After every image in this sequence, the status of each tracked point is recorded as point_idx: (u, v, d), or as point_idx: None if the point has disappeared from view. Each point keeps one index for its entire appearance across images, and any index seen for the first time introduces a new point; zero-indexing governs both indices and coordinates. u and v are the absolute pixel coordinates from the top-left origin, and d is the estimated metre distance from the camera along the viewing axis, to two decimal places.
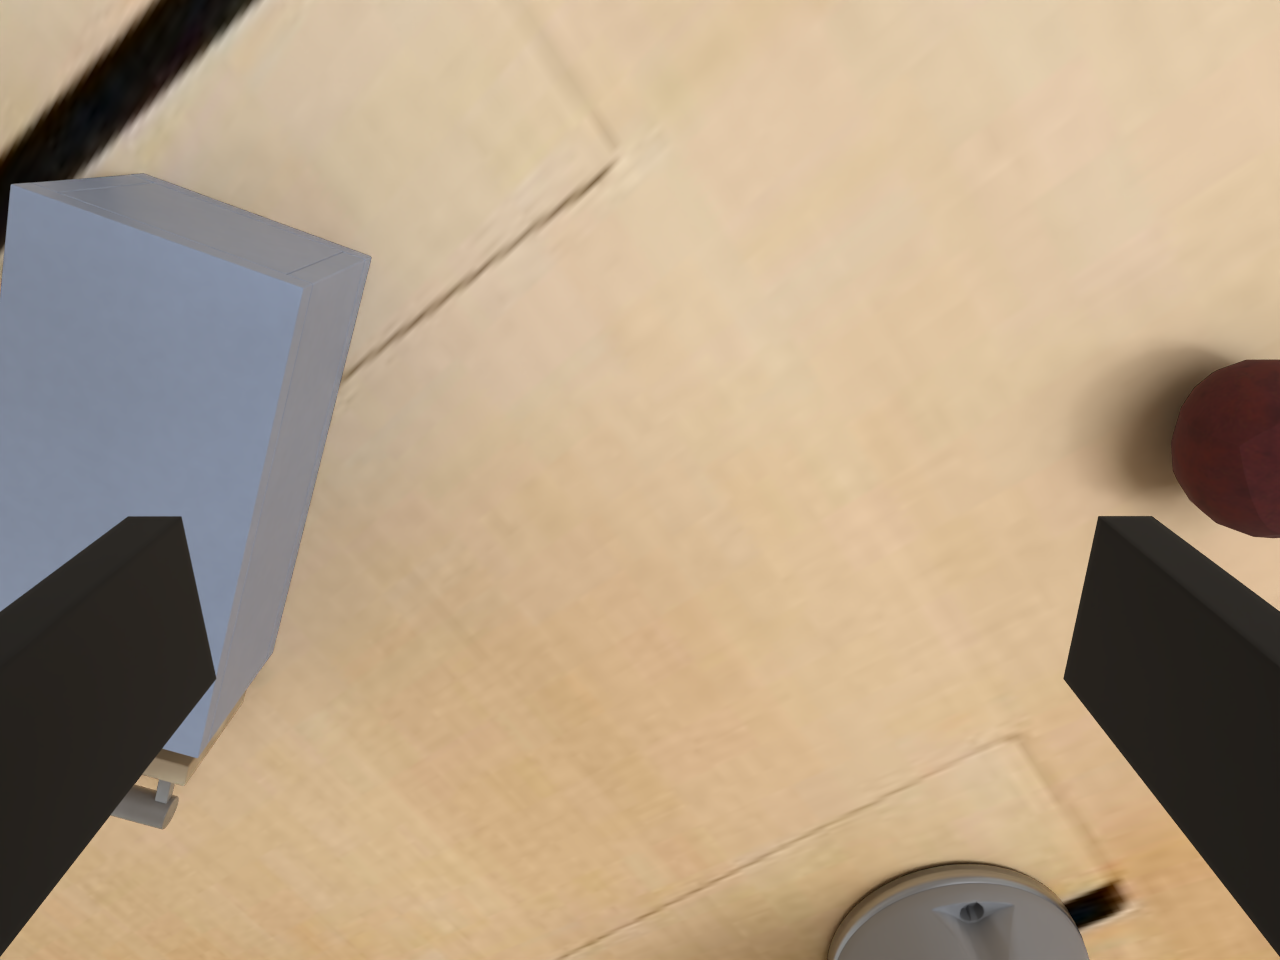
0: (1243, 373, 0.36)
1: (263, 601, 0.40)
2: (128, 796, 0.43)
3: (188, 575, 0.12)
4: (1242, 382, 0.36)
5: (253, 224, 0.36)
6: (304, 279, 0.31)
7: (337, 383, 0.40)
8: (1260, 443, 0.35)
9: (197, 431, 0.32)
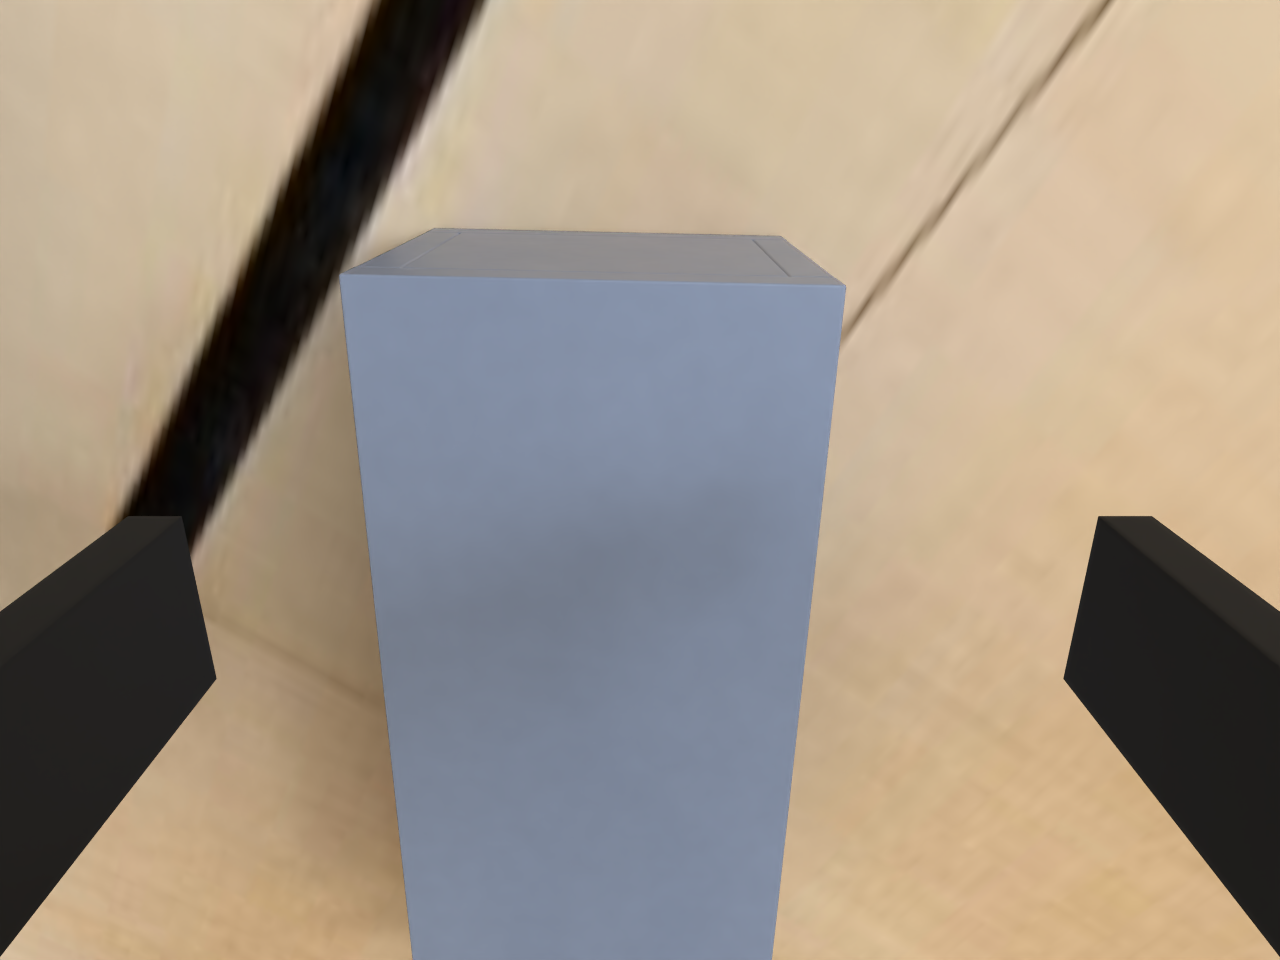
0: None
1: None
2: None
3: (188, 575, 0.12)
4: None
5: (626, 240, 0.23)
6: (817, 275, 0.18)
7: None
8: None
9: (699, 579, 0.19)
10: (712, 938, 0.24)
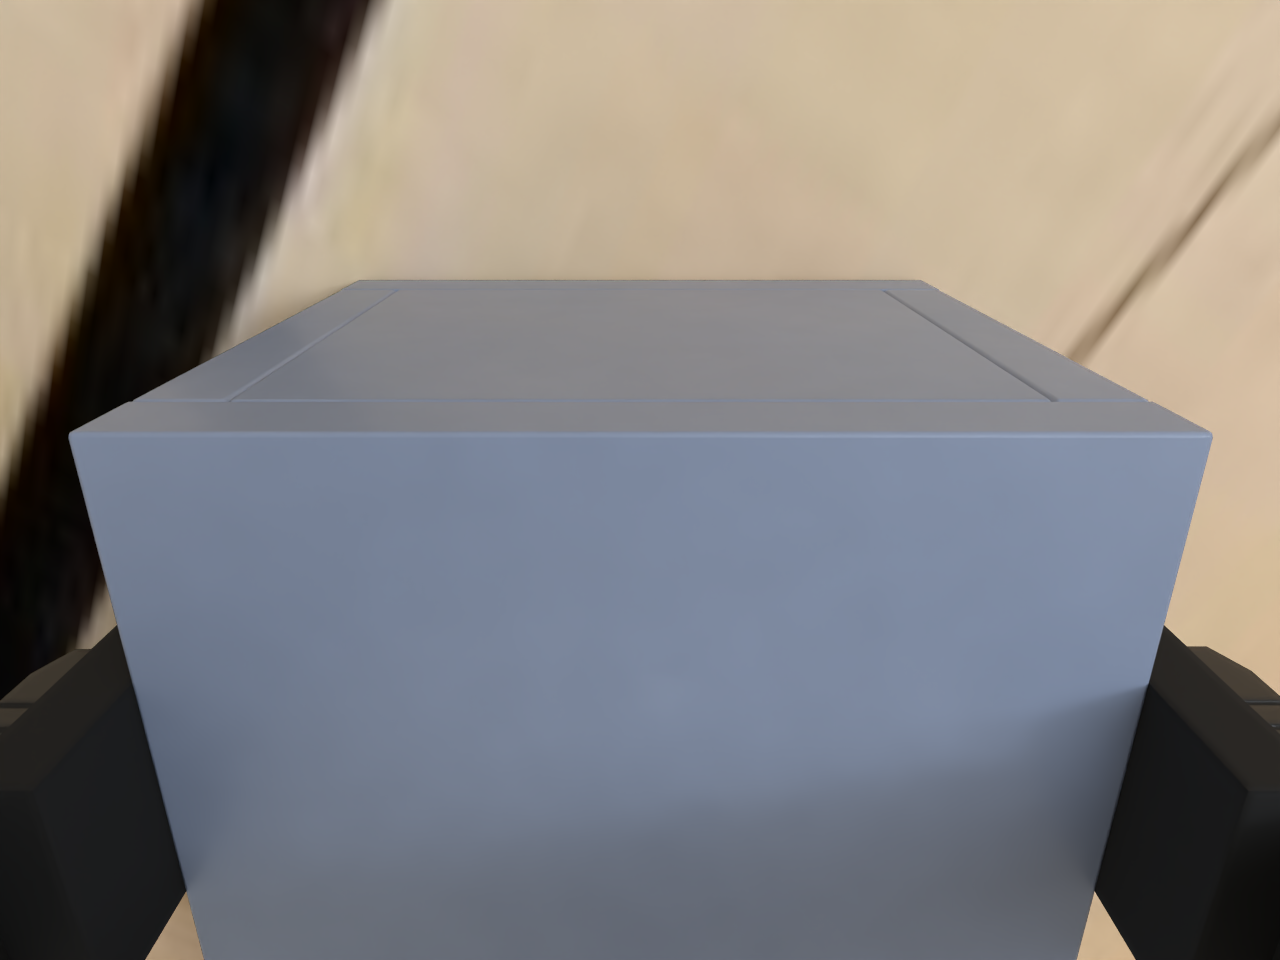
0: None
1: None
2: None
3: None
4: None
5: (676, 299, 0.13)
6: (1107, 393, 0.09)
7: None
8: None
9: None
10: None
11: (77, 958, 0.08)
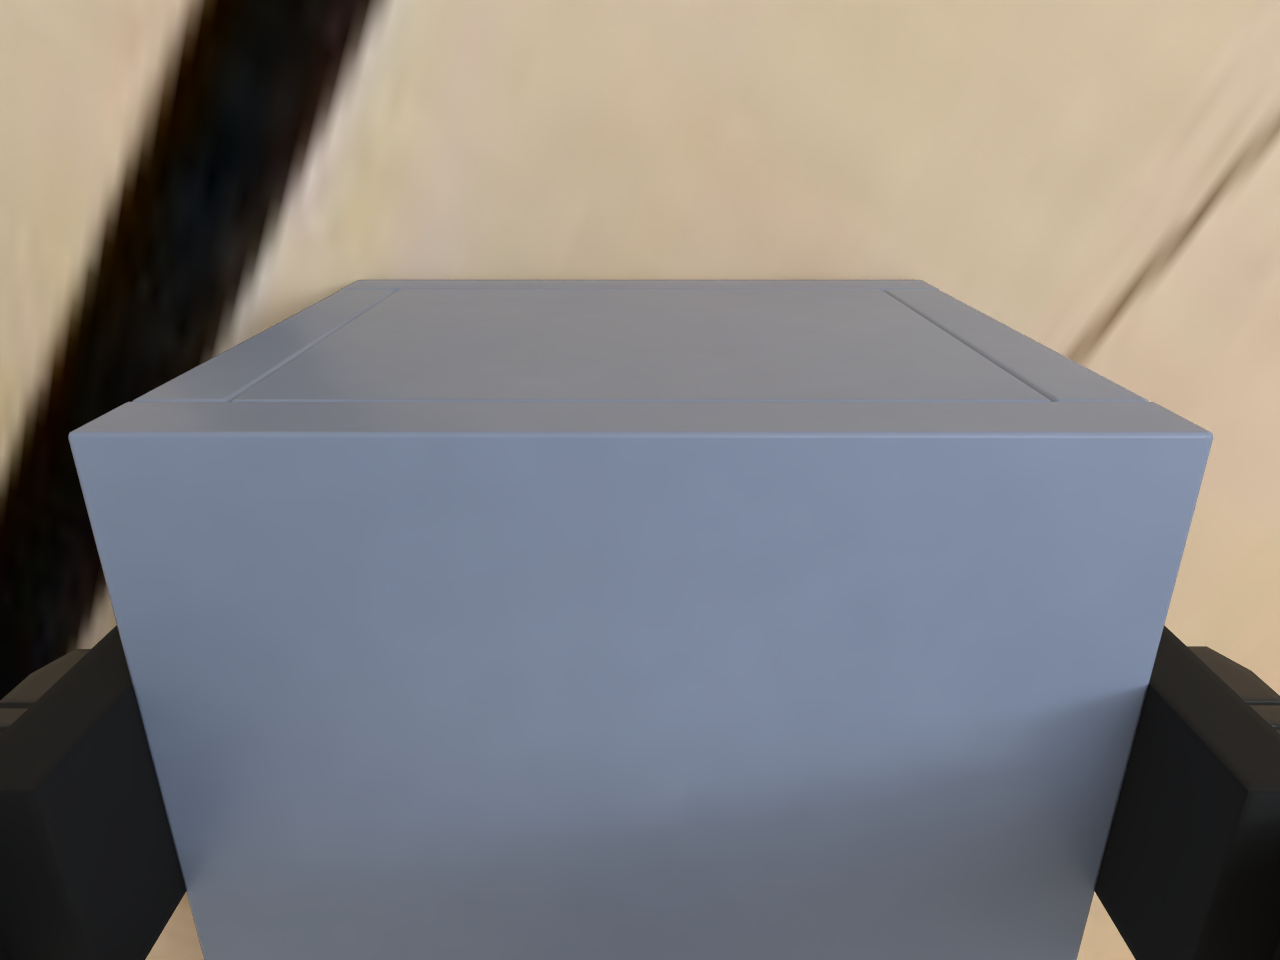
0: None
1: None
2: None
3: None
4: None
5: (676, 299, 0.13)
6: (1106, 393, 0.09)
7: None
8: None
9: None
10: None
11: (77, 958, 0.08)
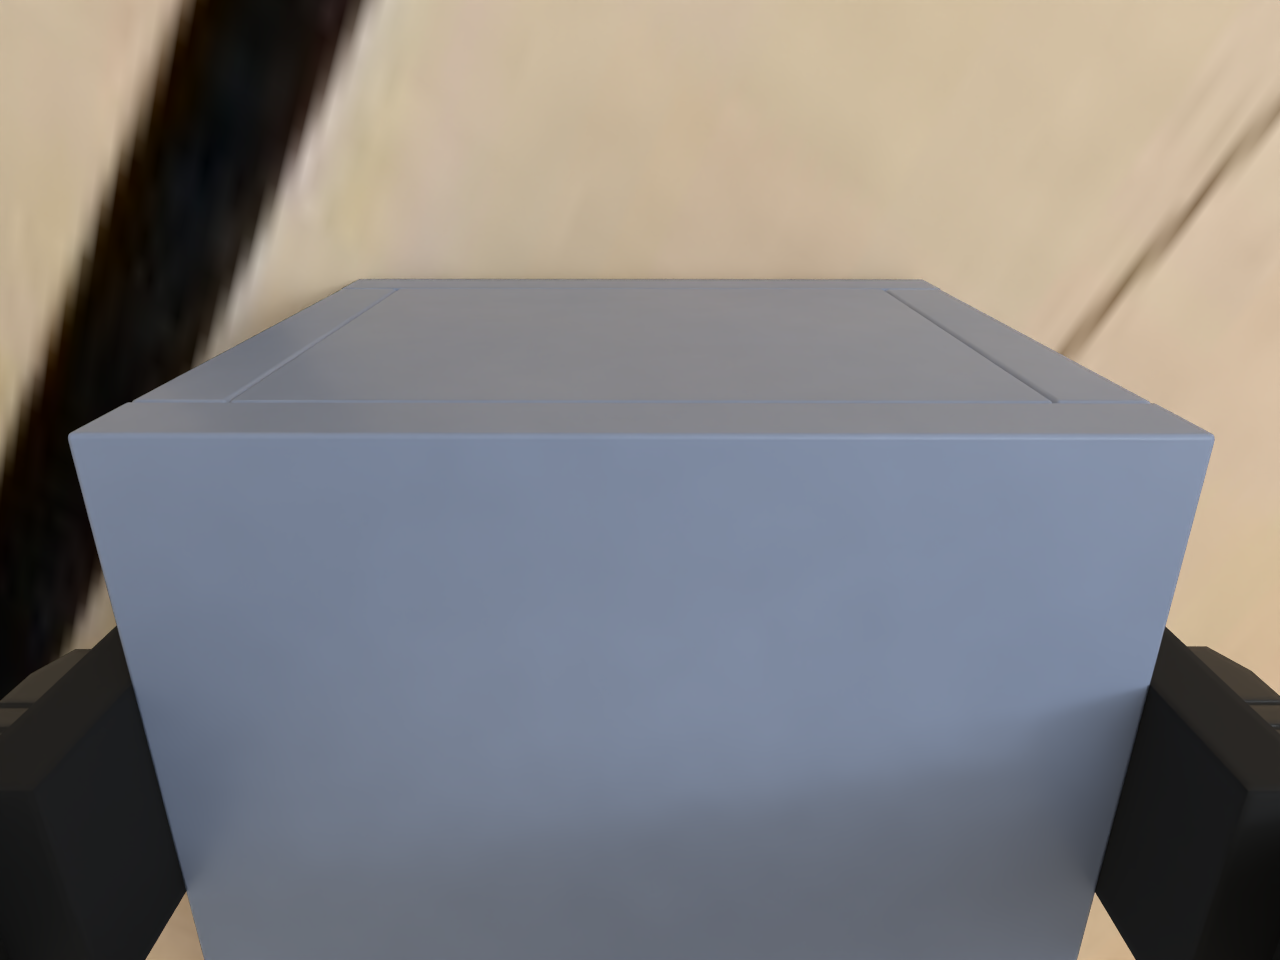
0: None
1: None
2: None
3: None
4: None
5: (677, 298, 0.13)
6: (1108, 395, 0.09)
7: None
8: None
9: None
10: None
11: (77, 958, 0.08)
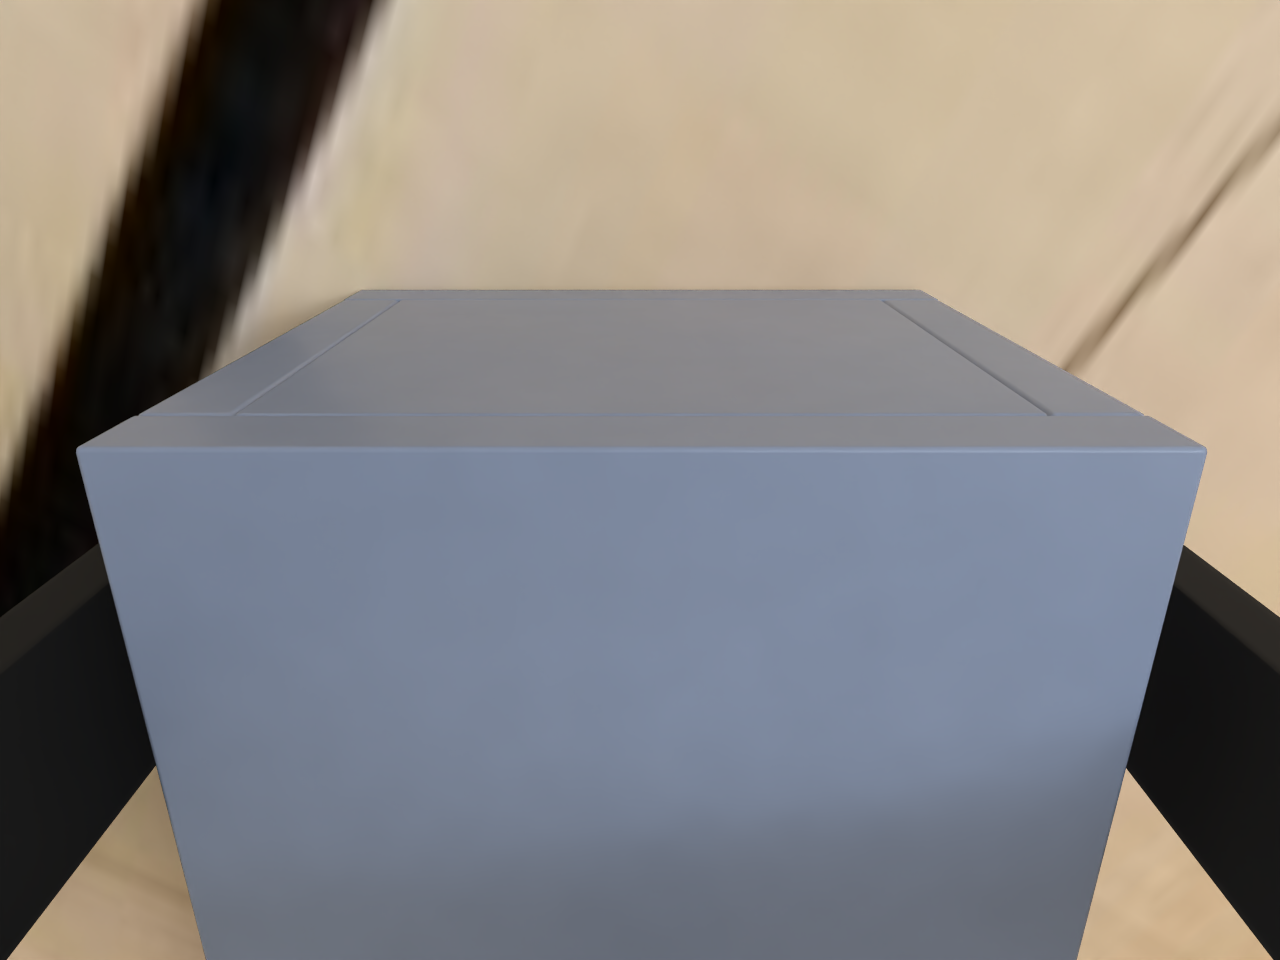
0: None
1: None
2: None
3: None
4: None
5: (676, 310, 0.13)
6: (1103, 407, 0.09)
7: None
8: None
9: None
10: None
11: None
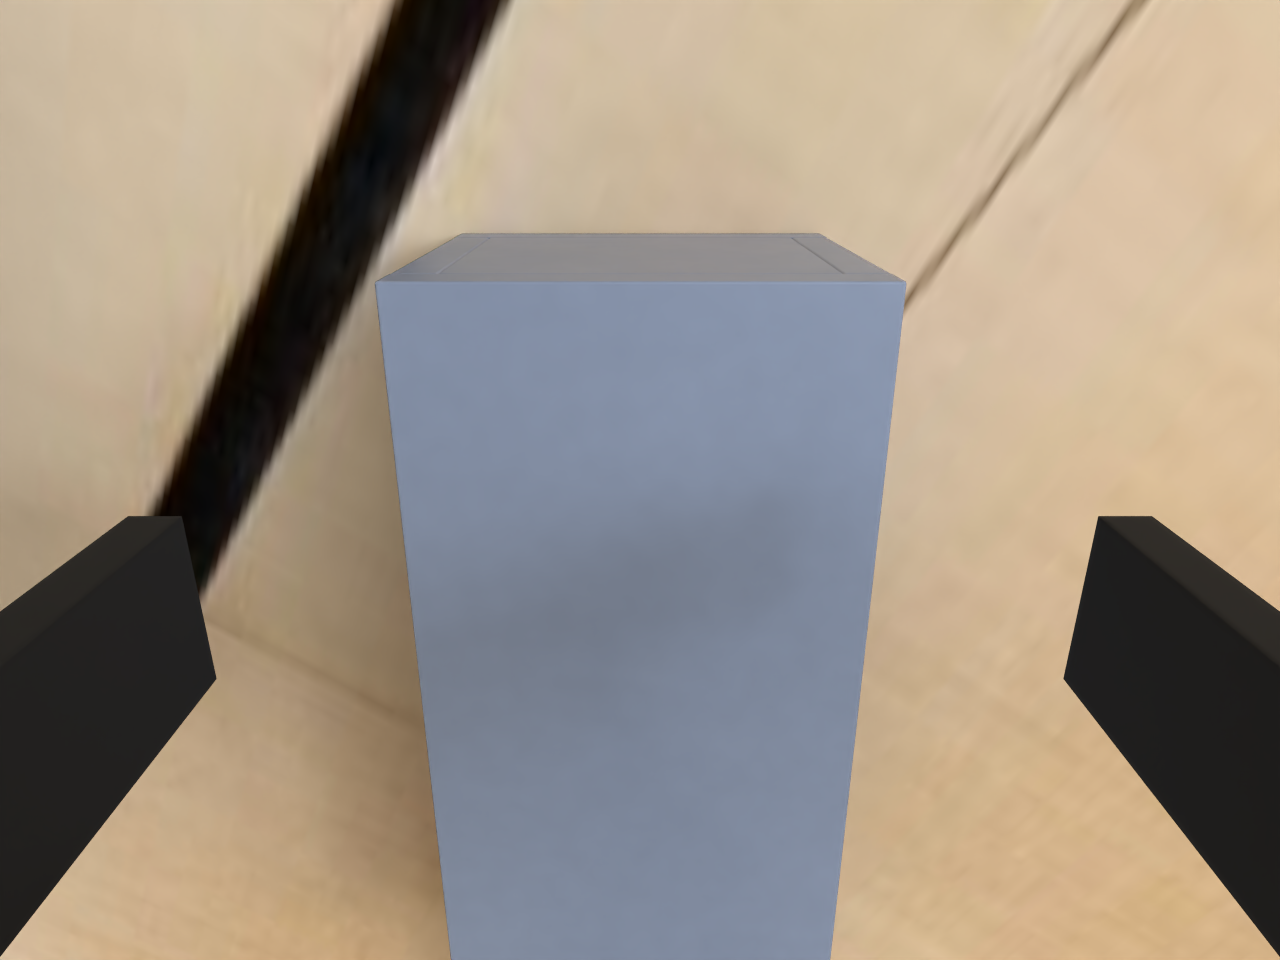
0: None
1: None
2: None
3: (188, 574, 0.12)
4: None
5: (662, 241, 0.22)
6: (872, 272, 0.17)
7: None
8: None
9: (752, 592, 0.19)
10: None
11: None
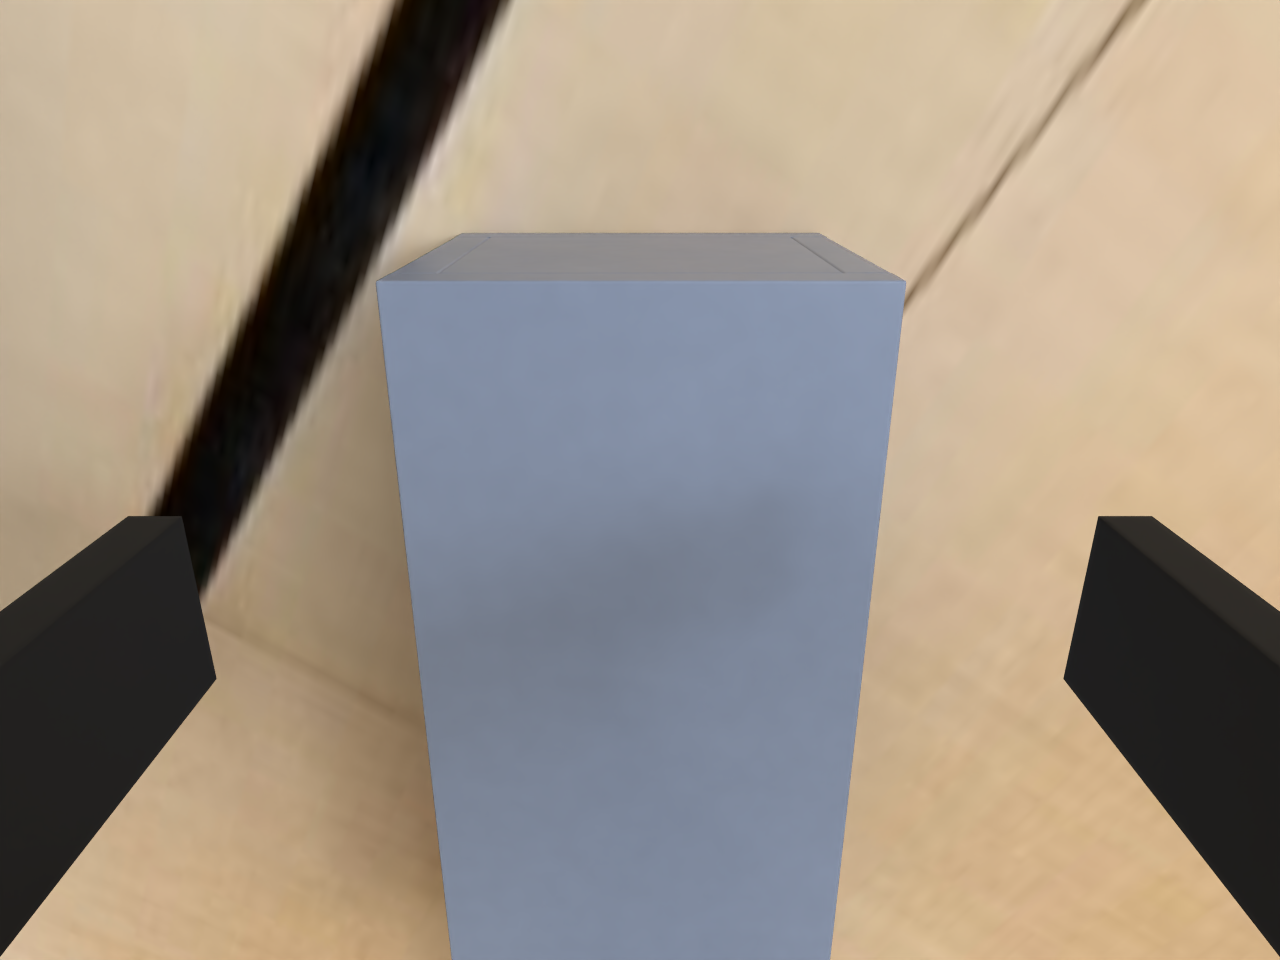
0: None
1: None
2: None
3: (188, 575, 0.12)
4: None
5: (662, 240, 0.22)
6: (871, 271, 0.17)
7: None
8: None
9: (752, 591, 0.19)
10: None
11: None
